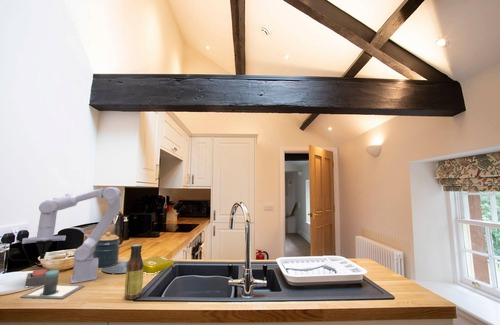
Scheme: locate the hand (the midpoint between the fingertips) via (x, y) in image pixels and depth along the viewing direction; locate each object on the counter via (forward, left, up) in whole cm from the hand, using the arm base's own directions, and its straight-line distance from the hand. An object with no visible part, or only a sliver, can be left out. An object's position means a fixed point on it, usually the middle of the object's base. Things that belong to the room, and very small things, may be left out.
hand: (41, 258), depth 102 cm
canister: (-27, -13, -10) cm, 32 cm away
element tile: (-47, +8, -11) cm, 49 cm away
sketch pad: (-5, +15, -10) cm, 19 cm away
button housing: (0, 0, -10) cm, 10 cm away
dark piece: (-4, +17, -10) cm, 20 cm away
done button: (0, 0, -8) cm, 8 cm away
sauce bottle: (-29, +38, -10) cm, 49 cm away
